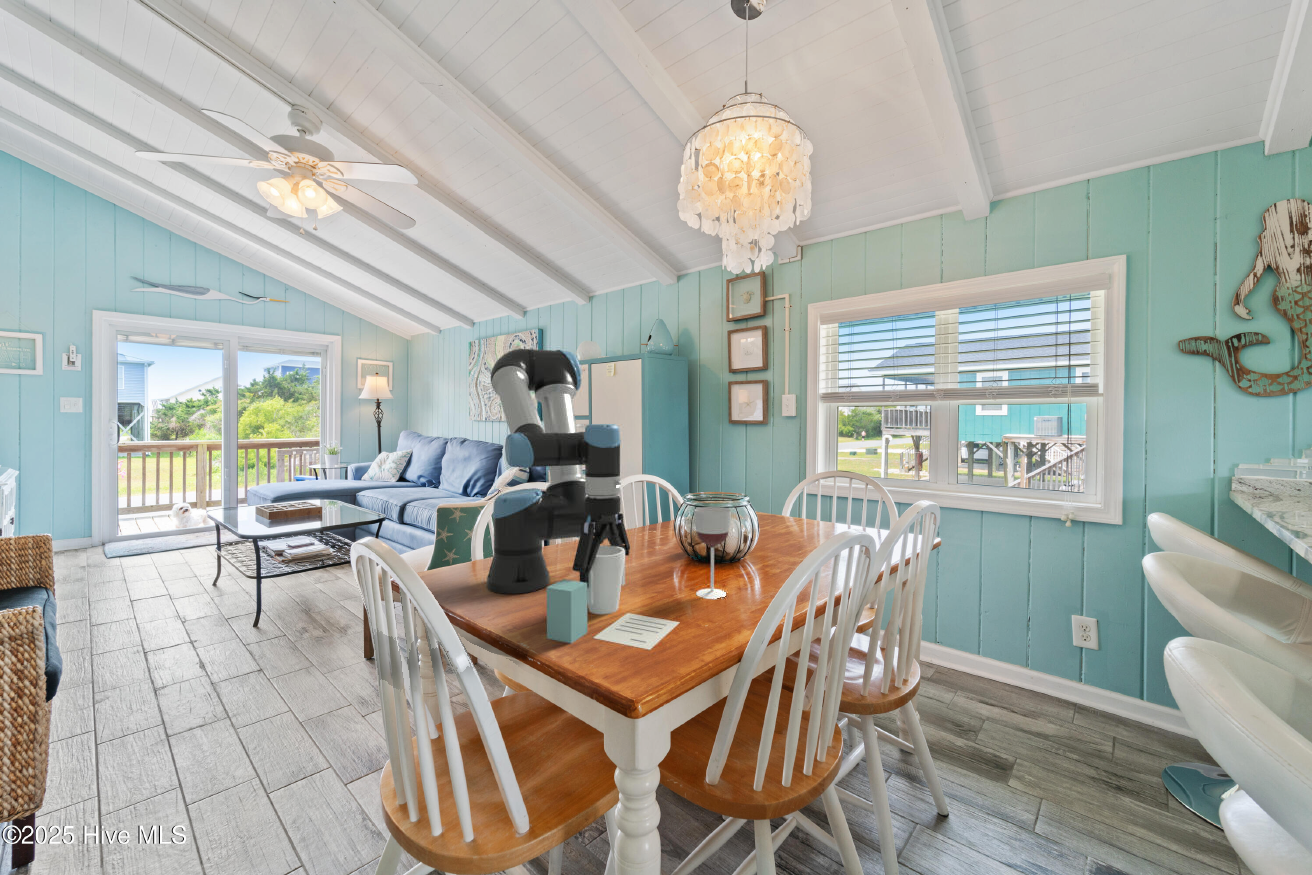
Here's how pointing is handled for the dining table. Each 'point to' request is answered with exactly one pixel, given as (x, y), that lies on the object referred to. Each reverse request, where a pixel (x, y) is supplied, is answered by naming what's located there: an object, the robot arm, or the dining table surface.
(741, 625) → the dining table surface
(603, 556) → the foam cup
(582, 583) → the block
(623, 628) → the letter
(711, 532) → the wineglass
